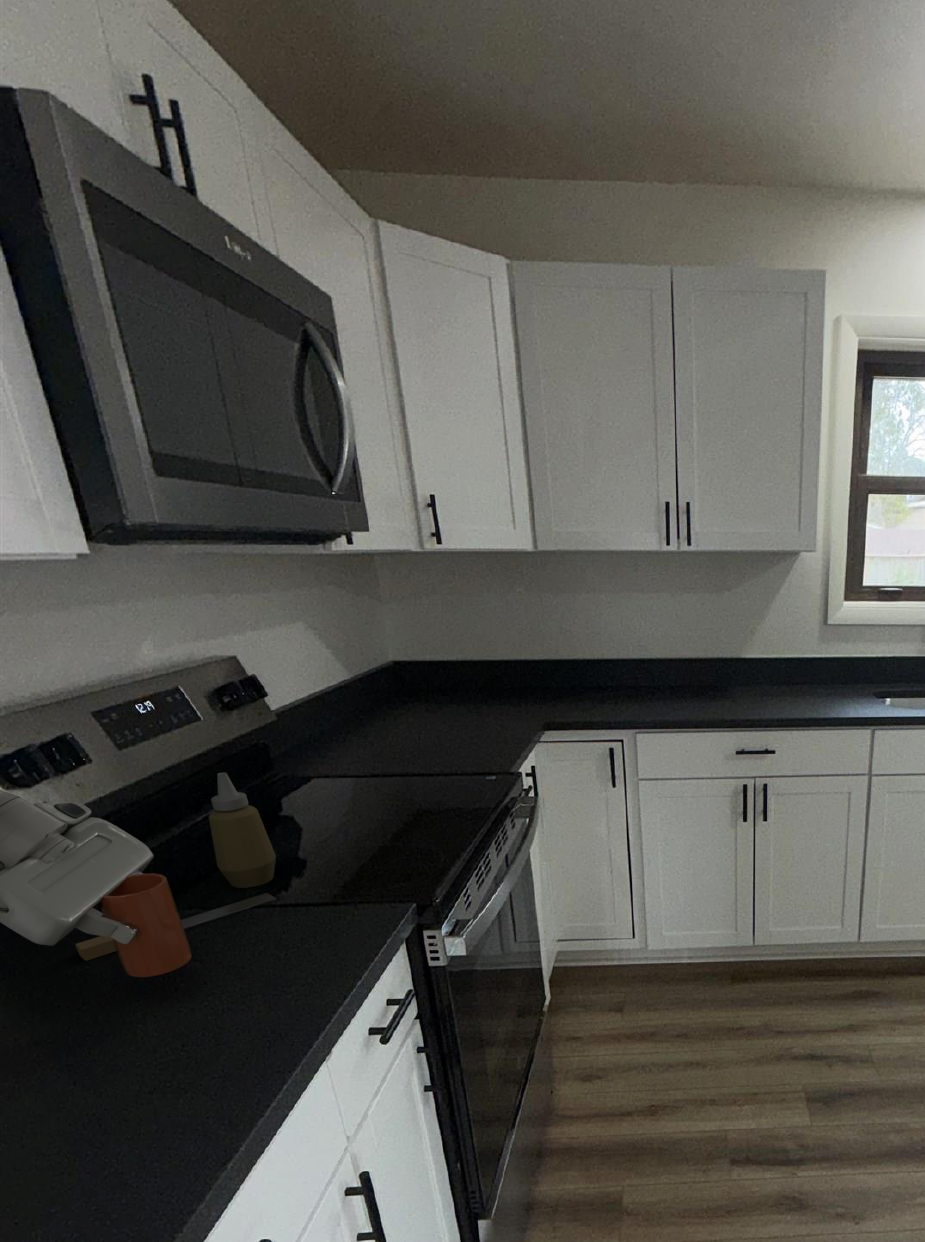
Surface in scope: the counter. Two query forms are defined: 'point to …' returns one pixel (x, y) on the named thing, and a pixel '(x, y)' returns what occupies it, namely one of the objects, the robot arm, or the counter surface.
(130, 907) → the cup
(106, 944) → the knife
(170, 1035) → the counter surface
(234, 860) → the squeeze bottle
